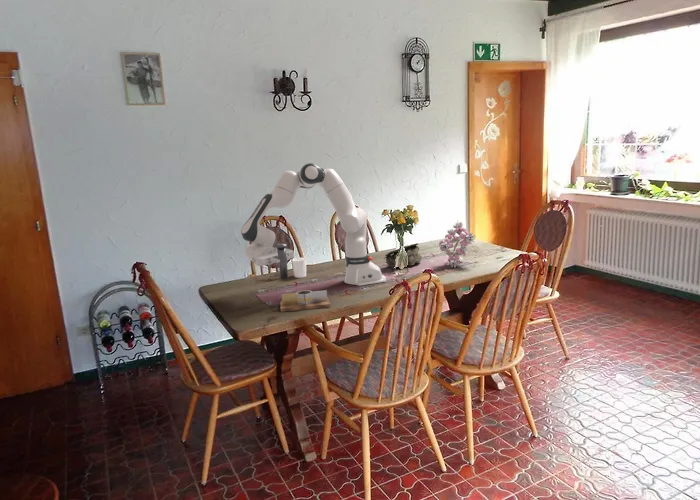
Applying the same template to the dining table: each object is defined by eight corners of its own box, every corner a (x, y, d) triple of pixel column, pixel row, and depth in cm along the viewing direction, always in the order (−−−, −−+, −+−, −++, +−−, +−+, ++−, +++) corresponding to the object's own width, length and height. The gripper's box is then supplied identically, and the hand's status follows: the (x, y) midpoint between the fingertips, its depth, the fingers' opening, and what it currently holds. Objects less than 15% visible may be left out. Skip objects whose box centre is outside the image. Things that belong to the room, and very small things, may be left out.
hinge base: (328, 299, 258) (328, 296, 258) (330, 307, 248) (330, 303, 247) (280, 304, 256) (280, 301, 255) (280, 311, 245) (280, 308, 245)
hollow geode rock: (388, 278, 305) (400, 263, 294) (376, 261, 310) (387, 245, 299) (421, 267, 322) (433, 252, 312) (409, 251, 327) (421, 236, 317)
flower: (423, 260, 315) (433, 226, 300) (449, 250, 328) (460, 216, 313) (447, 280, 304) (459, 245, 289) (473, 268, 316) (485, 235, 301)
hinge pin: (289, 275, 257) (286, 243, 254) (289, 278, 253) (286, 245, 249) (278, 276, 257) (275, 244, 253) (278, 279, 252) (275, 246, 248)
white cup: (291, 278, 300) (290, 261, 298) (295, 274, 307) (293, 257, 305) (305, 278, 299) (304, 260, 296) (308, 274, 306) (307, 257, 304)
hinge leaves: (326, 297, 256) (325, 288, 255) (328, 303, 249) (327, 292, 248) (282, 302, 254) (281, 292, 253) (282, 307, 246) (281, 297, 245)
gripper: (248, 253, 255) (264, 257, 245) (283, 245, 268) (299, 249, 258) (249, 266, 256) (265, 270, 246) (284, 257, 269) (301, 261, 259)
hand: (283, 259), depth 252 cm, fingers closed on hinge pin, 4 cm apart
